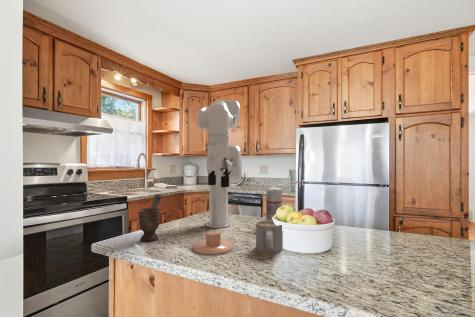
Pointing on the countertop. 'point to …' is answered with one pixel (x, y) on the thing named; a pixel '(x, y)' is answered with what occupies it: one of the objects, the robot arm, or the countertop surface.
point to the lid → (212, 245)
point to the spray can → (273, 201)
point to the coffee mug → (269, 237)
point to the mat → (212, 255)
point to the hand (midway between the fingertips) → (218, 186)
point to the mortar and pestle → (150, 220)
